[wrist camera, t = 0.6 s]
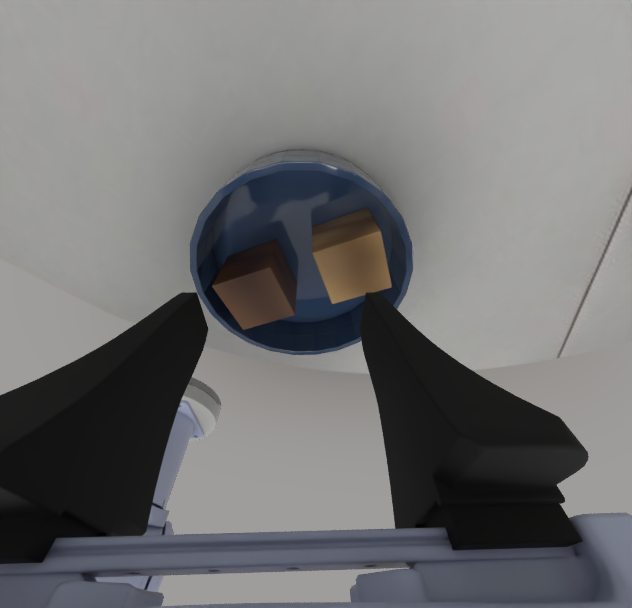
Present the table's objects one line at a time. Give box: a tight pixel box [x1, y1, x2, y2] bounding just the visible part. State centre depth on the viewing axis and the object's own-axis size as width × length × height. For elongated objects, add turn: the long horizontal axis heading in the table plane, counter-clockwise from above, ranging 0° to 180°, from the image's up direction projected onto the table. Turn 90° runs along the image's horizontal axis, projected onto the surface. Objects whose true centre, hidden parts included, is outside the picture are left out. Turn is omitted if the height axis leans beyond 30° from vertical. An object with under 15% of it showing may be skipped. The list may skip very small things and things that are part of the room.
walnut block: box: [212, 240, 297, 330], centre depth 18 cm, size 4×4×4 cm
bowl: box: [190, 150, 413, 355], centre depth 18 cm, size 14×14×4 cm
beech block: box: [312, 208, 392, 304], centre depth 17 cm, size 4×4×4 cm
